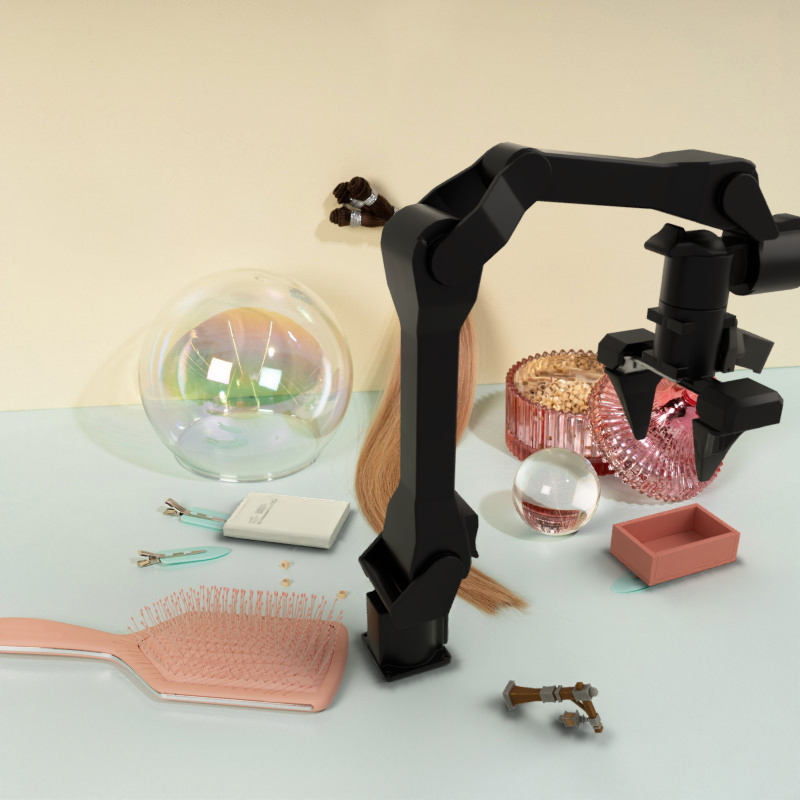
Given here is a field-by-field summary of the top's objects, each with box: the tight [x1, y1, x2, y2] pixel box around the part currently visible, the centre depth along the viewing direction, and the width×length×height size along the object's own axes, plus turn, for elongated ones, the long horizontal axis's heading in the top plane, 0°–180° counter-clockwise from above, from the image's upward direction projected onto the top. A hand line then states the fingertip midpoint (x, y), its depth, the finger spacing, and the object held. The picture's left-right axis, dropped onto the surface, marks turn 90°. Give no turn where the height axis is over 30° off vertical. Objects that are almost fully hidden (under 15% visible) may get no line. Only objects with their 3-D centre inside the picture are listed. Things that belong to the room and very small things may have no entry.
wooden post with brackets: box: [501, 679, 604, 734], centre depth 69 cm, size 2×8×4 cm, turn 62°
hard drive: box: [222, 491, 351, 550], centre depth 96 cm, size 2×8×12 cm
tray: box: [609, 502, 741, 587], centre depth 89 cm, size 11×7×4 cm, turn 113°
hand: (670, 459), depth 80 cm, fingers open, 9 cm apart
